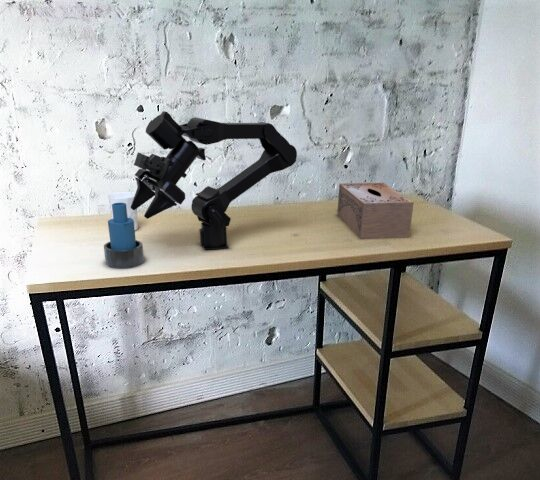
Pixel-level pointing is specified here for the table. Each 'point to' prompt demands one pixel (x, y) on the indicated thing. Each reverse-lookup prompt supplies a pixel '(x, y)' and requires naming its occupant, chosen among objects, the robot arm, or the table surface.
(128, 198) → the white cup
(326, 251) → the table surface
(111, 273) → the table surface
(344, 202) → the tissue box cover
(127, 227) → the bottle
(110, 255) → the cup holder
